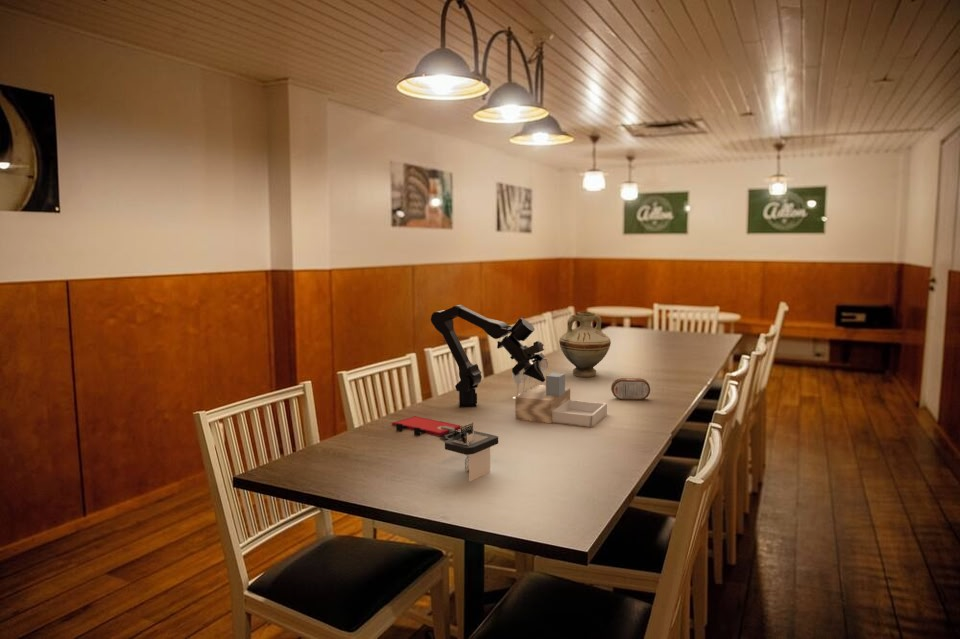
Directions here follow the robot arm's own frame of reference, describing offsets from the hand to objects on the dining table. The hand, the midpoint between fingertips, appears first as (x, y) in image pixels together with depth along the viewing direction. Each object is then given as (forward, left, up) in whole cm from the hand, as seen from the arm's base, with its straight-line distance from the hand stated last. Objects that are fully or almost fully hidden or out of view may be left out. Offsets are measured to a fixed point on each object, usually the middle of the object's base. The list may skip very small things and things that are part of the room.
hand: (544, 381), depth 225 cm
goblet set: (+1, +35, -13) cm, 38 cm away
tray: (+11, -7, -12) cm, 18 cm away
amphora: (+32, +63, -12) cm, 72 cm away
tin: (+38, +16, -13) cm, 43 cm away
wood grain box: (0, 0, -12) cm, 12 cm away
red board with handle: (-42, -13, -13) cm, 46 cm away
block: (+4, -2, -4) cm, 6 cm away
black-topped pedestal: (-32, -56, -13) cm, 65 cm away
